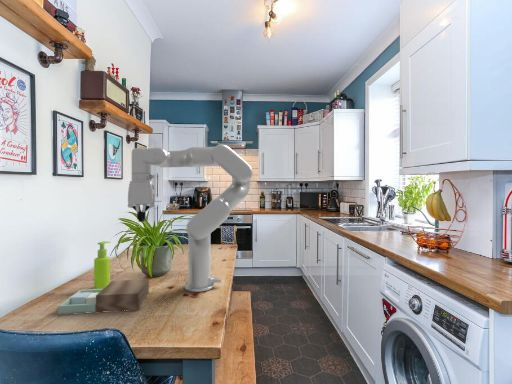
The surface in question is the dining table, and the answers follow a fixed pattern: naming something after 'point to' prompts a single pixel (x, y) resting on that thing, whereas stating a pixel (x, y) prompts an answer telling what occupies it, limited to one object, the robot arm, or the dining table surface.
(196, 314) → the dining table surface
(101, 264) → the soap dispenser
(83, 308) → the box
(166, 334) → the dining table surface
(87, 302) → the cream square block
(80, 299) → the pale blue square block
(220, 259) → the dining table surface
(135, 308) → the brown wooden block
